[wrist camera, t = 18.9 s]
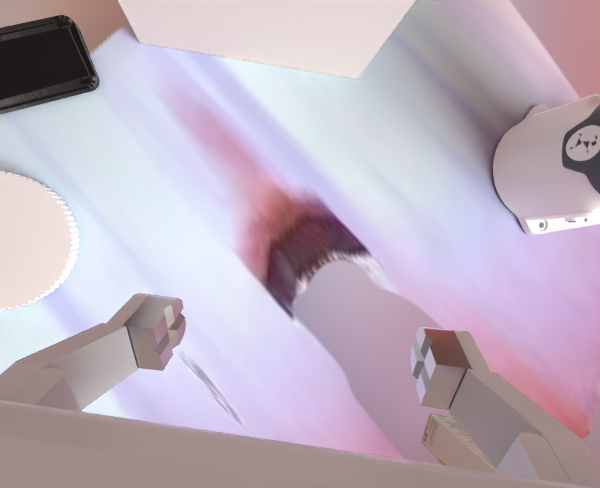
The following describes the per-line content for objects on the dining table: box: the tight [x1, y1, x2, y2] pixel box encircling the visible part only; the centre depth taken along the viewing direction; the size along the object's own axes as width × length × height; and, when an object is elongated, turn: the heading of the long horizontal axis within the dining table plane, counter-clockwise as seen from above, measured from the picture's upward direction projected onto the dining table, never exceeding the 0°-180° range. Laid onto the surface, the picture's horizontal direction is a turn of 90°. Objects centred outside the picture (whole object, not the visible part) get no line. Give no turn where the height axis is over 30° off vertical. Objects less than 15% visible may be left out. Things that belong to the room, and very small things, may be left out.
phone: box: [0, 15, 99, 114], centre depth 32 cm, size 8×1×15 cm
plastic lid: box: [0, 171, 80, 310], centre depth 32 cm, size 14×14×2 cm
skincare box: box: [422, 414, 496, 473], centre depth 37 cm, size 6×4×12 cm
